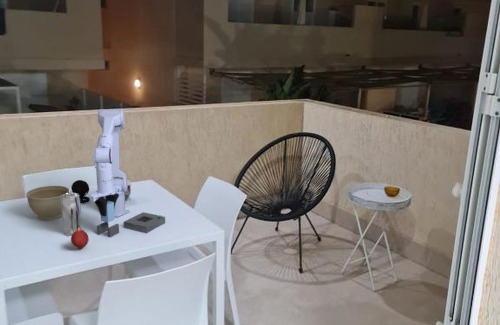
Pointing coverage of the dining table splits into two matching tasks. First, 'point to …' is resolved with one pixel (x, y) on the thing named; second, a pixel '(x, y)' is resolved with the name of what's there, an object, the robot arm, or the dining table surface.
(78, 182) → the webcam
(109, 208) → the plug
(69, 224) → the beer glass
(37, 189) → the planter bowl
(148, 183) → the dining table surface
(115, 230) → the holster
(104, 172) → the robot arm
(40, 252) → the dining table surface
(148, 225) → the port block
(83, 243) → the red christmas ornament
